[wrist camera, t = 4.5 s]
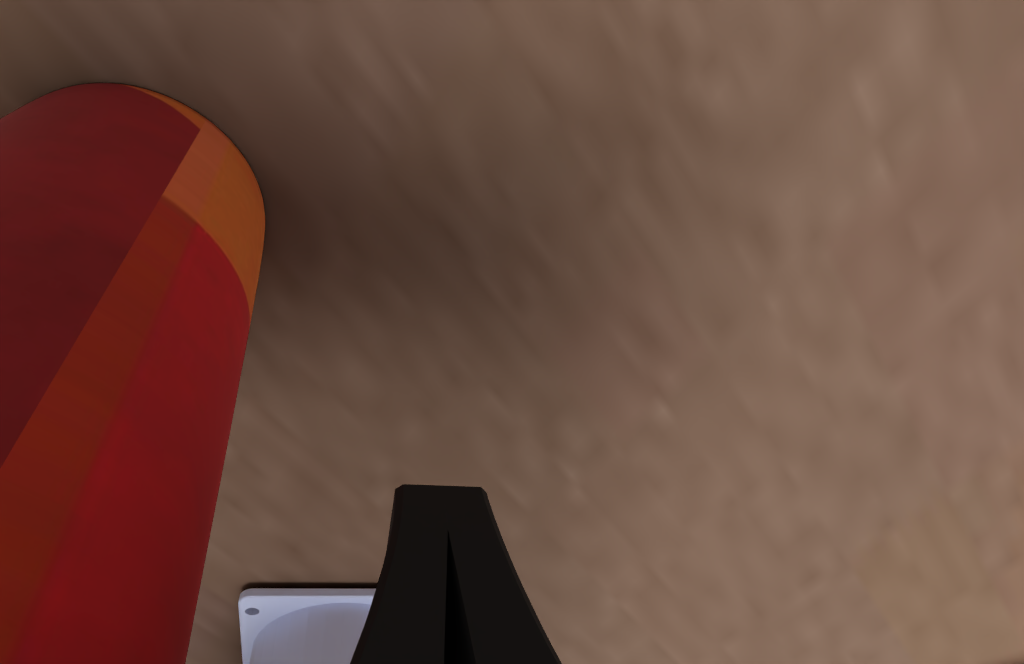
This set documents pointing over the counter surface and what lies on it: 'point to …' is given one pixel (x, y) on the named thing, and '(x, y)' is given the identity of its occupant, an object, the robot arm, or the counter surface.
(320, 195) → the counter surface
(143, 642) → the coffee cup
